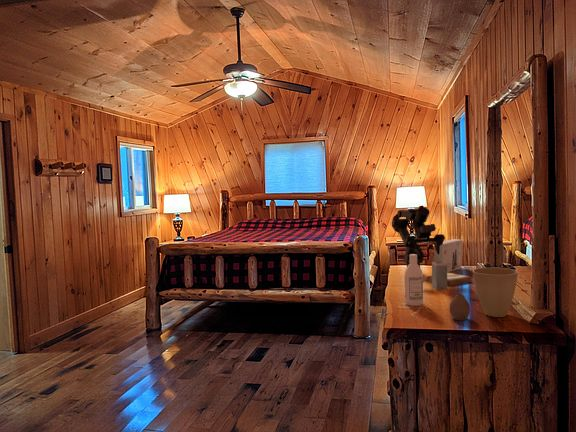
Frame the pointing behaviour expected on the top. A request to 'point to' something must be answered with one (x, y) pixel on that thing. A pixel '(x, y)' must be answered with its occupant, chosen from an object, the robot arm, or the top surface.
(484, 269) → the plant pot
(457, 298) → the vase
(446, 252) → the skincare box
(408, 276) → the bath foam
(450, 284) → the stand
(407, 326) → the top surface
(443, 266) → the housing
